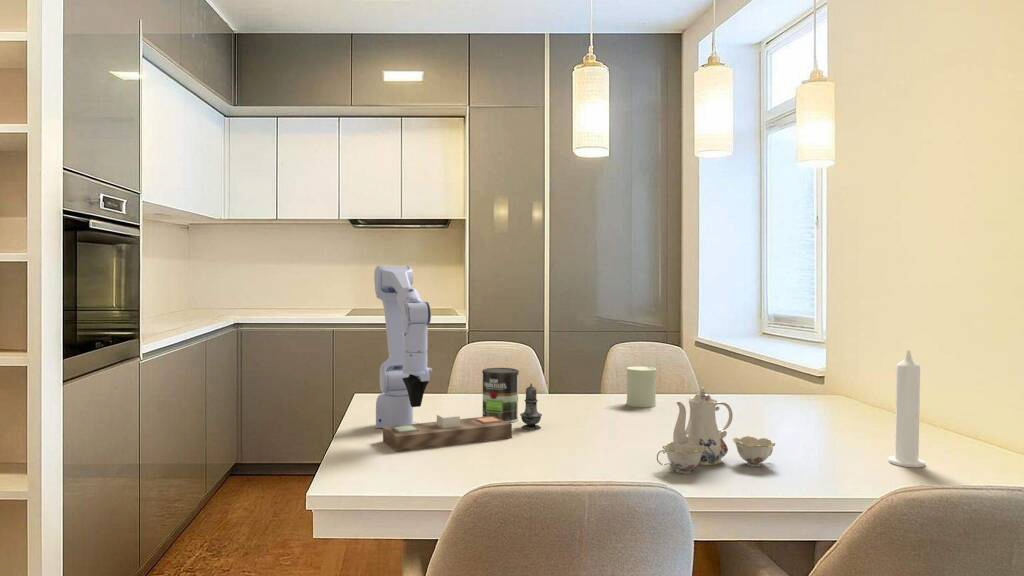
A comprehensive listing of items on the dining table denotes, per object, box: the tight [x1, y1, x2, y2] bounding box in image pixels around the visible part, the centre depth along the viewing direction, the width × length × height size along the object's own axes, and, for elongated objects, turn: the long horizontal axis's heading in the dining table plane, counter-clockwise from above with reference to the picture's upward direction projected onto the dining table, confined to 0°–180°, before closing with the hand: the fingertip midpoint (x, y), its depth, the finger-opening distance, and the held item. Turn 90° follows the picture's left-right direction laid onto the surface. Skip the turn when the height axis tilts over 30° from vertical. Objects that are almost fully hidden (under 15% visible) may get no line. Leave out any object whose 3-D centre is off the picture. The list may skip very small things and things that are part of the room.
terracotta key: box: [477, 417, 500, 424], centre depth 178 cm, size 4×4×3 cm
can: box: [625, 365, 657, 409], centre depth 218 cm, size 9×9×12 cm
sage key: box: [394, 426, 417, 433], centre depth 168 cm, size 4×4×3 cm
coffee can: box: [481, 367, 520, 424], centre depth 196 cm, size 10×10×14 cm
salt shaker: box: [519, 383, 543, 431], centre depth 186 cm, size 6×6×12 cm
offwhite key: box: [436, 412, 461, 429], centre depth 173 cm, size 4×4×3 cm
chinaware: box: [656, 387, 776, 475], centre depth 151 cm, size 28×17×17 cm, turn 113°
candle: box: [887, 349, 926, 469], centre depth 152 cm, size 7×7×25 cm
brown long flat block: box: [382, 416, 513, 453], centre depth 173 cm, size 30×11×4 cm, turn 117°
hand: (415, 406), depth 171 cm, fingers closed
